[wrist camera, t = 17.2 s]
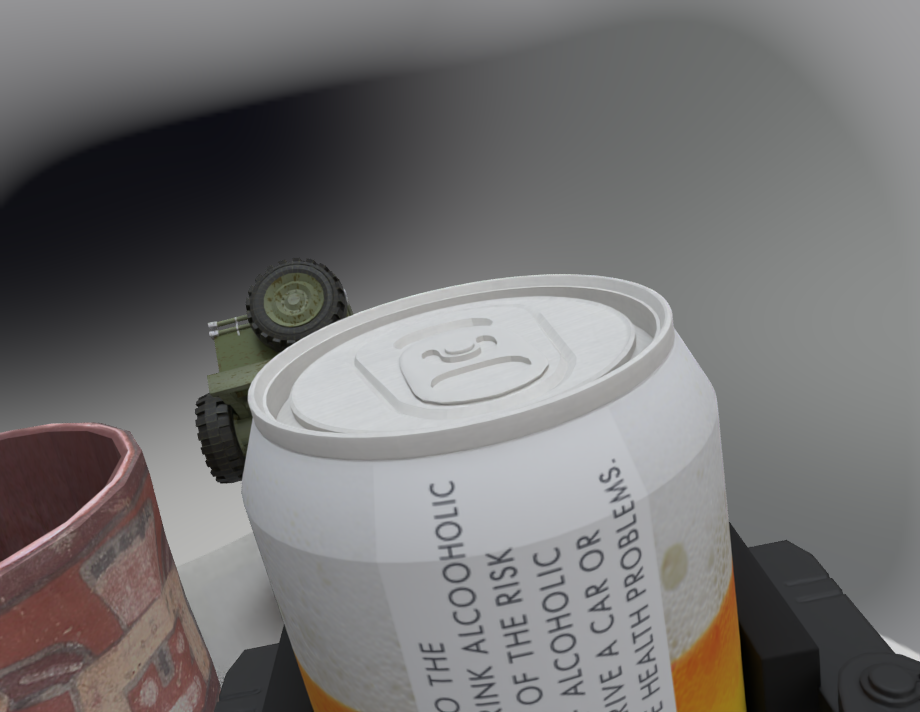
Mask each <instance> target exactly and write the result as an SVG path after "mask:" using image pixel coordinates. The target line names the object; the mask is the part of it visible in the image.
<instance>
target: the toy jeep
mask: <svg viewBox="0 0 920 712" xmlns="http://www.w3.org/2000/svg"><path fill="white" fill-rule="evenodd" d="M278 263H279V266H276V267H274V268H273V267H272V265H271V266H269V267H268V268H266V269H265V270H266V272H267V273H265V274H264V275H263V276H262V275H260V274H259V275H258V276H257V277H256V279H255V281H256V285H255V286H250V289H249V291H248V293H249V299H248V298H247V299H246V308H247V315H244V316H240V317H235V318H232V319H228V320H224V321H221V322H211V323H208V326H209V329H210V330H211V332H209V333H210V337H211V338H212V339H213V340H215V347H216V353H217V359H218V366H219V373H216V374H212V375H208V376H207V378H208V385H209V391H210V393H208V394H206V395H204V396H202V397H200V398H199V400H198V401H197V402H196V405H197V406H198V408H196V409H195V414H196V415H197V420H196V427H198V430H199V433H198V439H199V441H200V440H201V444H202V447H201V450H202V454H203V455H204V454H205V457H206V459H207V460H206V461H205V462H206V464H207V466H208V467H210V468H211V469H212V470H211V474H212V475H213V477H215V476H216V481H217V482H220V483H234V482H238V481H242V478H243V472H244V466H245V460H246V454H247V448H248V443H249V437H250V431H251V425H252V419H253V416H252V413H251V410H250V407H249V404H248V391H249V388H250V385H251V383H252V381H253V380H254V378H255V376H256V375H257V374H258V372H259V371H260V370H261V369H262V368H263V367H264V366H265V365H266V364H267V363H268V362H269V361H271V360H272V359H273V358H274V357H275V356H277V355H278V354H279V353H281V352H282V351H283V350H285V349H286V348H288V347H289V346H291V345H293V344H294V343H296V342H298V341H299V340H301V339H303V338H304V337H306V336H308V335H310V334H312V333H314V332H315V331H318V330H320V329H322V328H324V327H326V326H328V325H330V324H332V323H335V322H337V321H339V320H342V319H344V318H346V317H349V316H352V315H353V312H352V309H351V307H350V304H349V301H348V299H347V294H346V291H345V289H343V287H342V284H341V283H340V281H339V279H338V278H337V277H336V276H335V274H334V273H332V271H330V270H329V269H328V268H327V267H326V266H324V265H323V264H321V263H320V264H316V262H315V261H314V260H311V259H307V261H306V262H304V261H302V260H301V259H300V258H293V262H288V263H287V262H286V260H282V261H279V262H278ZM247 319H248V321H249V323H247V324H244V325H240V326H238V322H239V321H243V320H247ZM235 322H236V327H232V328H228V329H224V330H220V331H218V330H217V329H216V328H218V327H219V326H223V325H227V324H231V323H235ZM250 327H251V328H250ZM246 328H247V329H246ZM242 329H243V330H242Z"/></svg>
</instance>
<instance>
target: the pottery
mask: <svg viewBox="0 0 920 712" xmlns="http://www.w3.org/2000/svg"><path fill="white" fill-rule="evenodd" d="M220 691H221V689H220V683H219V680H218V677H217V674H216V671H215V668H214V665H213V662H212V659H211V657H210V654H209V652H208V649H207V647H206V644H205V642H204V640H203V637H202V635H201V632H200V630H199V627H198V625H197V622H196V620H195V617H194V615H193V613H192V610H191V608H190V605H189V603H188V600H187V598H186V595H185V592H184V589H183V586H182V583H181V580H180V577H179V574H178V571H177V568H176V565H175V562H174V560H173V556H172V554H171V550H170V547H169V544H168V542H167V539H166V535H165V532H164V528H163V524H162V520H161V516H160V512H159V508H158V505H157V501H156V497H155V493H154V489H153V485H152V481H151V477H150V473H149V470H148V467H147V465H146V462H145V459H144V456H143V453H142V450H141V449H140V447H139V445H138V444H137V442H136V440H135V439H134V437H133V436H132V434H131V432H130V431H127V430H123V429H120V428H117V427H113V426H110V425H106V424H102V423H60V424H48V425H42V426H35V427H29V428H23V429H18V430H12V431H7V432H3V433H0V712H214V709H215V706H216V703H217V702H218V701H219V694H220Z"/></svg>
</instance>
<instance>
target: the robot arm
mask: <svg viewBox="0 0 920 712" xmlns="http://www.w3.org/2000/svg"><path fill="white" fill-rule="evenodd" d="M729 530H730V540H731V551H732V561H733V572H734V583H735V593H736V604H737V614H738V625H739V635H740V646H741V656H742V667H743V677H744V688H745V698H746V709H747V712H920V662H919V661H916V660H914V659H911V658H909V657H906V656H904V655H900V654H895V653H894V651H893V650H892V649H891V648H890V647H889V646H888V644H887V643H886V642H885V641H884V640H883V638H882V637H881V636H880V635H879V634H878V632H877V631H876V630H875V629H874V628H873V627H872V625H871V624H870V623H869V622H868V621H867V619H866V618H865V617H864V616H863V614H862V613H861V612H860V611H859V610H858V609H857V607H856V606H855V605H854V604H853V603H852V601H851V600H850V599H849V598H848V597H847V596H846V594H843V592H842V589H841V588H840V587H839V586H838V585H837V583H836V582H835V581H834V580H833V579H832V578H830V577H829V574H828V573H827V572H826V570H825V569H824V568H823V567H822V566H821V564H819V562H818V561H817V560H816V558H815V557H814V556H813V555H812V554H810V553H809V552H807V551H805V550H803V549H801V548H800V547H798V546H796V545H794V544H792V543H791V542H789V541H787V540H785V541H779V542H774V543H769V544H764V545H759V546H754V547H749V548H748V547H747V546H746V545H745V543H744V542H743V540H742V539H741V538H740V536H739V535H738V533H737V532H736V530H735V529H734V528H733V526H732V525H731V523H730V522H729ZM214 712H314V710H313V707H312V704H311V701H310V698H309V695H308V692H307V689H306V686H305V683H304V680H303V677H302V674H301V672H300V669H299V666H298V663H297V660H296V657H295V654H294V651H293V648H292V645H291V642H290V639H289V636H288V633H287V630H286V627H285V624H284V627H283V631H282V634H281V638H280V642H279V643H277V644H272V645H267V646H262V647H257V648H252V649H247V650H244V652H243V653H242V654H241V655H240V657H239V658H238V659H237V660H236V662H235V663H234V664H233V665H232V667H231V668H230V669H229V671H228V672H227V673H226V676H225V679H224V682H223V685H222V688H221V691H220V694H219V701H218V702H217V703H216V706H215V709H214Z"/></svg>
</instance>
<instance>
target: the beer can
mask: <svg viewBox="0 0 920 712" xmlns="http://www.w3.org/2000/svg"><path fill="white" fill-rule="evenodd" d="M248 404H249V407H250V410H251V413H252V416H253V419H252V425H251V431H250V437H249V443H248V448H247V454H246V460H245V466H244V472H243V478H242V491H241V492H242V498H243V502H244V506H245V509H246V512H247V514H248V518H249V521H250V524H251V527H252V530H253V533H254V536H255V538H256V541H257V544H258V547H259V550H260V553H261V556H262V559H263V562H264V565H265V568H266V571H267V574H268V577H269V580H270V583H271V586H272V589H273V592H274V595H275V598H276V601H277V604H278V606H279V609H280V612H281V615H282V618H283V621H284V624H285V627H286V630H287V633H288V636H289V639H290V642H291V645H292V648H293V651H294V654H295V657H296V660H297V663H298V666H299V669H300V672H301V674H302V677H303V680H304V683H305V686H306V689H307V692H308V695H309V698H310V701H311V704H312V707H313V710H314V712H747V709H746V698H745V688H744V677H743V667H742V656H741V646H740V635H739V625H738V614H737V604H736V593H735V583H734V572H733V561H732V551H731V540H730V530H729V519H728V510H727V498H726V488H725V478H724V468H723V456H722V446H721V436H720V425H719V414H718V404H717V399H716V394H715V391H714V389H713V387H712V385H711V383H710V381H709V379H708V378H707V376H706V375H705V373H704V372H703V370H702V369H701V367H700V366H699V364H698V363H697V361H696V360H695V358H694V357H693V356H692V354H691V353H690V351H689V349H688V348H687V347H686V345H685V344H684V342H683V340H682V339H681V337H680V336H679V334H678V333H677V331H676V330H675V329H674V325H673V316H672V310H671V308H670V306H669V304H668V302H667V301H666V300H665V299H664V298H663V297H662V296H661V295H660V294H658V293H656V292H655V291H654V290H652V289H650V288H647V287H645V286H643V285H640V284H637V283H634V282H630V281H626V280H621V279H616V278H609V277H602V276H593V275H574V274H554V275H553V274H552V275H551V274H550V275H532V276H531V275H530V276H518V277H508V278H500V279H492V280H485V281H479V282H473V283H467V284H462V285H456V286H451V287H447V288H442V289H438V290H433V291H429V292H425V293H421V294H417V295H413V296H409V297H406V298H402V299H399V300H395V301H392V302H389V303H386V304H383V305H379V306H376V307H374V308H371V309H368V310H365V311H362V312H360V313H357V314H354V315H352V316H349V317H346V318H344V319H342V320H339V321H337V322H335V323H332V324H330V325H328V326H326V327H324V328H322V329H320V330H318V331H315V332H314V333H312V334H310V335H308V336H306V337H304V338H303V339H301V340H299V341H298V342H296V343H294V344H293V345H291V346H289V347H288V348H286V349H285V350H283V351H282V352H281V353H279V354H278V355H277V356H275V357H274V358H273V359H272V360H271V361H269V362H268V363H267V364H266V365H265V366H264V367H263V368H262V369H261V370H260V371H259V372H258V374H257V375H256V376H255V378H254V380H253V381H252V383H251V385H250V388H249V391H248Z"/></svg>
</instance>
